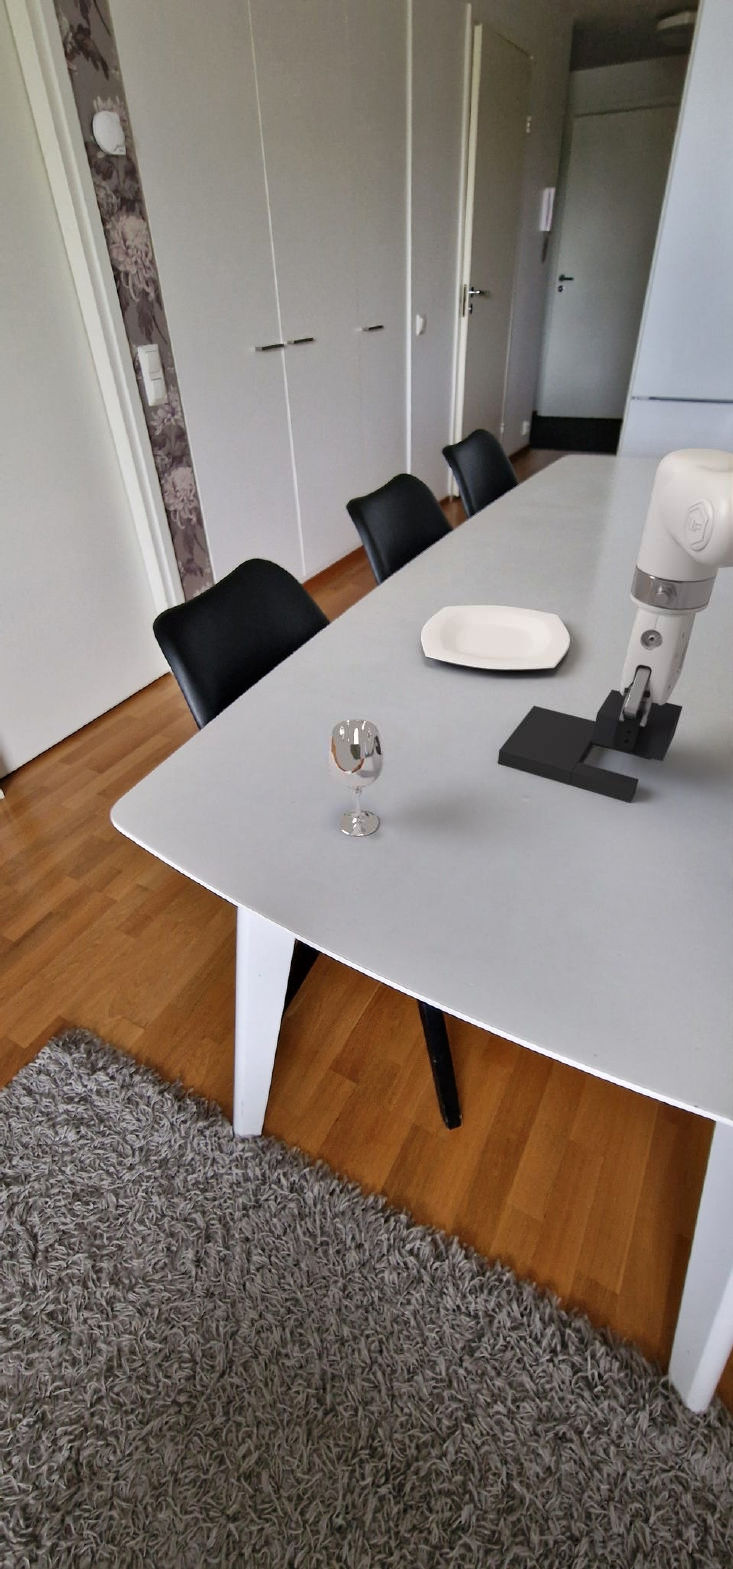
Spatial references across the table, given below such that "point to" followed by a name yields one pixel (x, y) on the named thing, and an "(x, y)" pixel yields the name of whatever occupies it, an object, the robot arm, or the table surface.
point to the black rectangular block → (659, 721)
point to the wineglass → (356, 769)
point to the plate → (495, 637)
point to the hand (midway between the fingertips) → (634, 734)
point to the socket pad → (562, 753)
